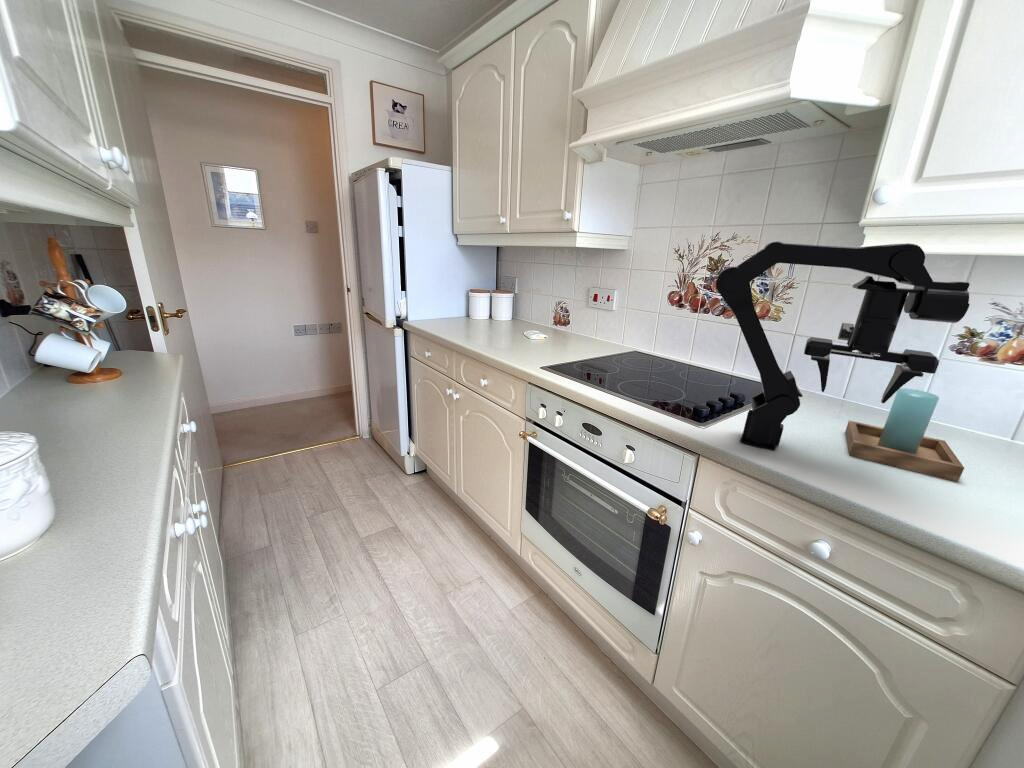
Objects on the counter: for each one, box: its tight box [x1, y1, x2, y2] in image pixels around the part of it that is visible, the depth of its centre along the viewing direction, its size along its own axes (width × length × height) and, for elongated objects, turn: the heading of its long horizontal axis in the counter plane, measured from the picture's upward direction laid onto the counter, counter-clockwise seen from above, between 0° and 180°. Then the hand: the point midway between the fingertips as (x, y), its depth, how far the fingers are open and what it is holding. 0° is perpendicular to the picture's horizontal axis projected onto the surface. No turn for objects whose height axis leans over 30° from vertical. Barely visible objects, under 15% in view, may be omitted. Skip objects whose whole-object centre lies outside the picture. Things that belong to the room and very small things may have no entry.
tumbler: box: [878, 388, 940, 454], centre depth 83 cm, size 6×6×12 cm
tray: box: [844, 420, 965, 483], centre depth 85 cm, size 16×14×3 cm
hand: (851, 396), depth 79 cm, fingers open, 9 cm apart
